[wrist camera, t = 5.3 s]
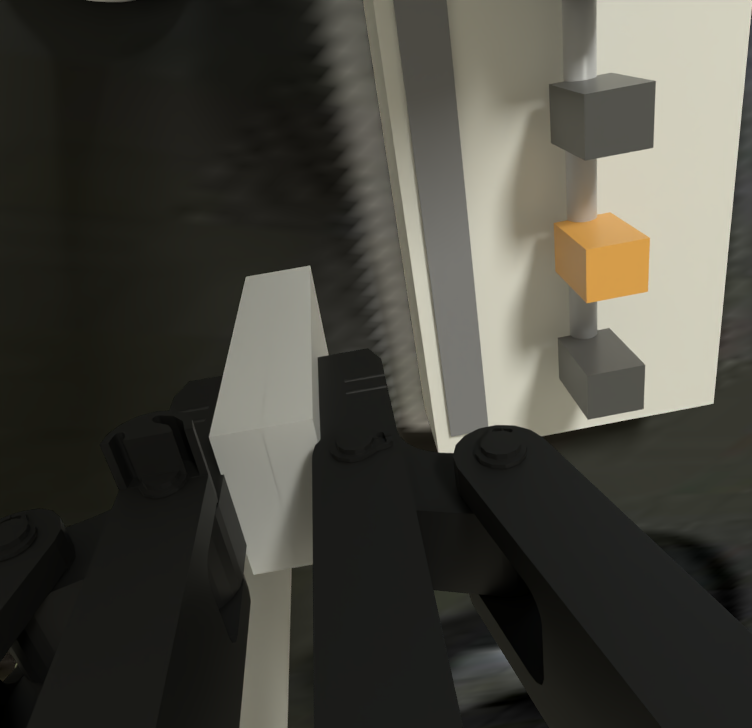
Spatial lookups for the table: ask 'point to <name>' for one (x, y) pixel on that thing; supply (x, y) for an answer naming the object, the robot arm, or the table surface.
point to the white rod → (111, 0)
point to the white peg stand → (267, 650)
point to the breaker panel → (553, 198)
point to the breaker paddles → (597, 216)
